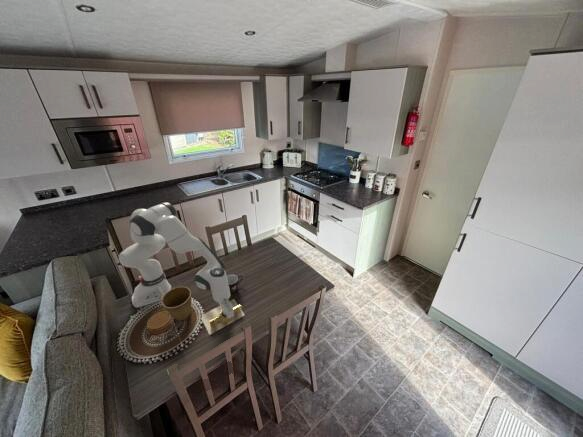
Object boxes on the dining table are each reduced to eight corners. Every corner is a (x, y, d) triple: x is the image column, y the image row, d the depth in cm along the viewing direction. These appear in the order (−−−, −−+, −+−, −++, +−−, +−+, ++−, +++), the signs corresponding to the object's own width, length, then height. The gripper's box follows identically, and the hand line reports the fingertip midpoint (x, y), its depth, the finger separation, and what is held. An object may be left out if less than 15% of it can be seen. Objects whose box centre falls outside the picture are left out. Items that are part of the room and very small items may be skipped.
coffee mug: (226, 297, 151) (224, 285, 146) (225, 287, 158) (223, 276, 153) (244, 293, 153) (243, 281, 148) (243, 283, 161) (241, 272, 156)
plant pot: (187, 301, 148) (182, 282, 140) (201, 314, 139) (196, 295, 131) (164, 317, 138) (156, 298, 130) (177, 332, 129) (169, 312, 121)
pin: (225, 321, 134) (223, 312, 130) (223, 318, 136) (221, 308, 132) (230, 319, 135) (228, 309, 131) (227, 315, 137) (226, 306, 133)
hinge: (213, 331, 129) (211, 325, 126) (208, 323, 133) (207, 317, 130) (243, 314, 138) (242, 308, 136) (238, 307, 143) (238, 301, 140)
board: (209, 336, 127) (209, 335, 127) (200, 317, 138) (200, 315, 137) (245, 316, 138) (244, 315, 138) (234, 299, 149) (233, 298, 148)
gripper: (235, 303, 120) (238, 321, 127) (219, 280, 134) (223, 297, 141) (223, 309, 117) (227, 327, 124) (208, 285, 131) (213, 302, 138)
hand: (225, 311), depth 132 cm, fingers open, 6 cm apart
